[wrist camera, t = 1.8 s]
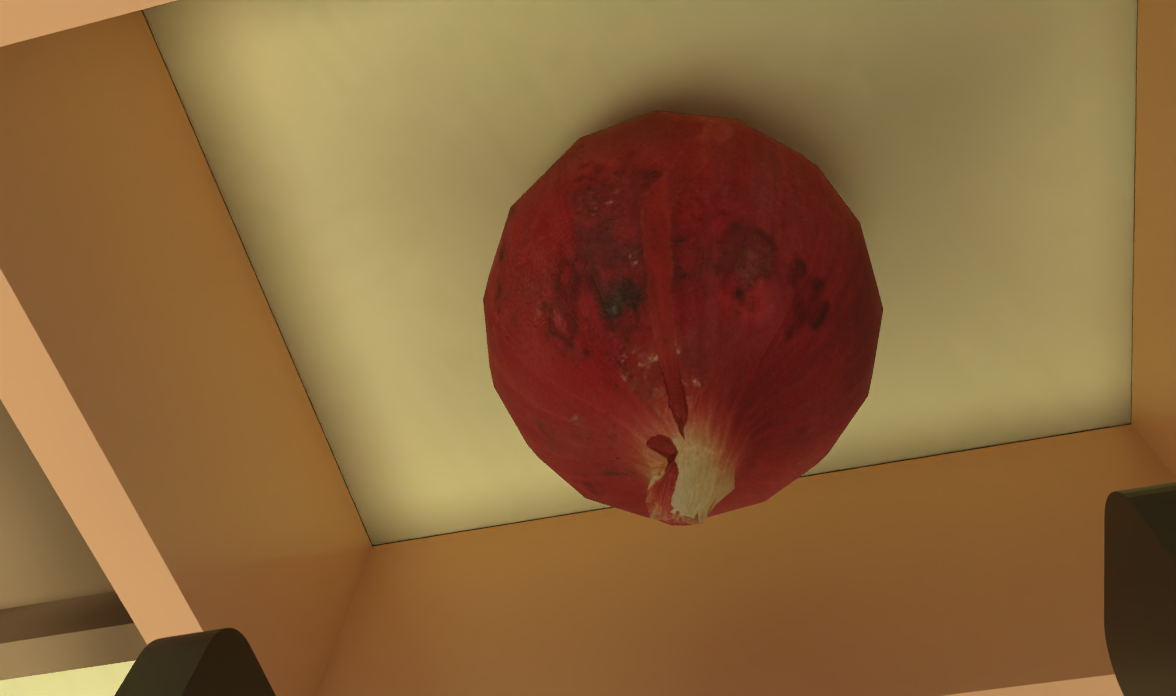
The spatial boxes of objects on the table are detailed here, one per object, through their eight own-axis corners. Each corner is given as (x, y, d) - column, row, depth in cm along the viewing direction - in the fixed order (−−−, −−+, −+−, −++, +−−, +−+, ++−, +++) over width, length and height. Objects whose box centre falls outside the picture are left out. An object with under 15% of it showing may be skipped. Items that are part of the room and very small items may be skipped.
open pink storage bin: (1221, -379, 13) (1598, -512, 8) (1183, 456, 20) (1380, 689, 14) (54, -53, 16) (-234, 6, 11) (345, 586, 22) (253, 821, 17)
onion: (463, 136, 17) (337, 348, 10) (778, 11, 16) (883, 156, 9) (586, 400, 20) (553, 719, 13) (869, 310, 18) (1004, 608, 11)
